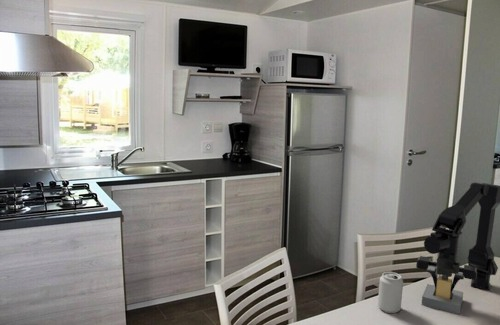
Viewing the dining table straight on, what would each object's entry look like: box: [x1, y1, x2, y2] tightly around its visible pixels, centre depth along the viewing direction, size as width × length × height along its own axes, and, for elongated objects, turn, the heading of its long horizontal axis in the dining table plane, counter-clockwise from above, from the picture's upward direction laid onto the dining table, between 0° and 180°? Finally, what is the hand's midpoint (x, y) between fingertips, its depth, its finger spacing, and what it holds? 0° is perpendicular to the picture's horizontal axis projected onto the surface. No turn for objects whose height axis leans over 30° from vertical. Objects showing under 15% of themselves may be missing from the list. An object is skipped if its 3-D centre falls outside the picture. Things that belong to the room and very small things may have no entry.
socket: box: [421, 283, 464, 315], centre depth 155 cm, size 12×12×3 cm
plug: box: [436, 275, 453, 299], centre depth 154 cm, size 4×4×8 cm
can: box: [377, 271, 404, 314], centre depth 148 cm, size 8×8×12 cm
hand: (443, 290), depth 154 cm, fingers closed on plug, 4 cm apart
